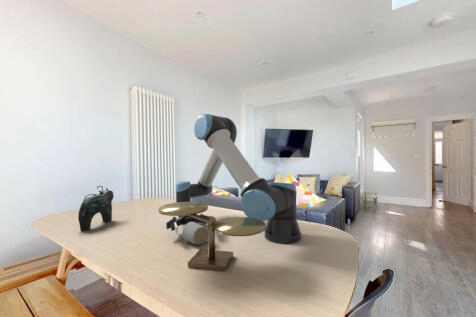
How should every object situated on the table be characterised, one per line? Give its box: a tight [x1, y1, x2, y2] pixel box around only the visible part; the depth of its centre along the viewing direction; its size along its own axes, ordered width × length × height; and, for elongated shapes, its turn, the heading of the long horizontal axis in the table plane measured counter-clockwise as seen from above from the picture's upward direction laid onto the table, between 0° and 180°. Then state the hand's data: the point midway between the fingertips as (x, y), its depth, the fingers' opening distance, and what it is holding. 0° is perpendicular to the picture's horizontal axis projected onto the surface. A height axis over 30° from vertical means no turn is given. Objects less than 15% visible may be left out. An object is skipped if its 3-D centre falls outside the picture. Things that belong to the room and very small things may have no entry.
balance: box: [158, 201, 267, 272], centre depth 71 cm, size 35×16×18 cm, turn 77°
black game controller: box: [77, 185, 115, 232], centre depth 112 cm, size 20×6×20 cm, turn 172°
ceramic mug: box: [181, 222, 208, 246], centre depth 88 cm, size 11×8×8 cm
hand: (194, 228), depth 87 cm, fingers open, 13 cm apart
